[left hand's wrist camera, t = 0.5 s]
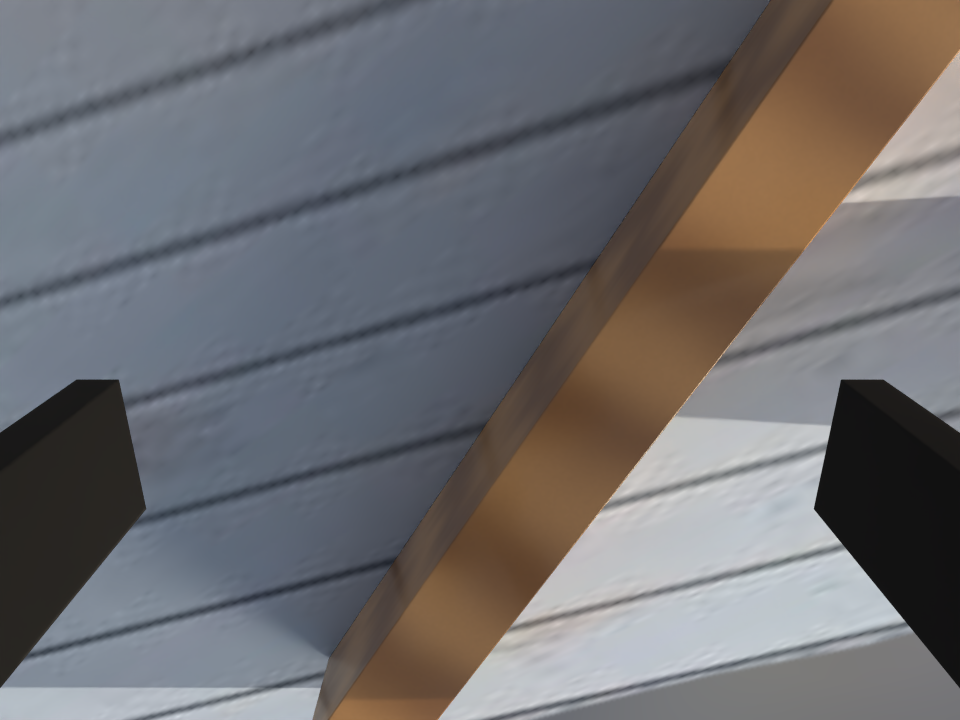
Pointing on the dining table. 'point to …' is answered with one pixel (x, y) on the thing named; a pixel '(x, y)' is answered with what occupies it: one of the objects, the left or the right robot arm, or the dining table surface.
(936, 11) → the beam
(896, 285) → the dining table surface
